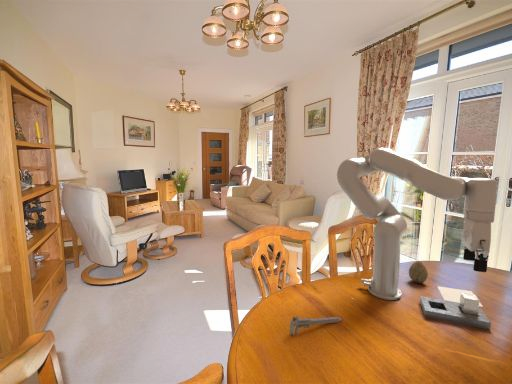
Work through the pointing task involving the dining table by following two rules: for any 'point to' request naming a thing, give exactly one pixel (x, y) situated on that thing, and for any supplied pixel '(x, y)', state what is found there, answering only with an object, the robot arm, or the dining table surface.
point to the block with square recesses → (452, 313)
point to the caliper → (309, 322)
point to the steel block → (469, 304)
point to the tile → (453, 294)
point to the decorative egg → (418, 272)
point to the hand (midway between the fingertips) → (474, 265)
